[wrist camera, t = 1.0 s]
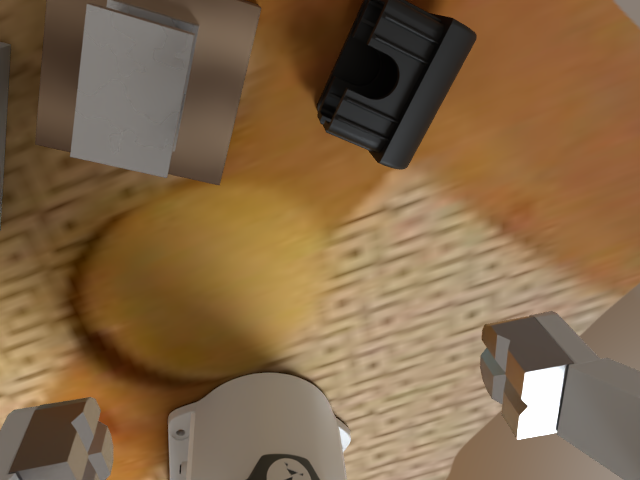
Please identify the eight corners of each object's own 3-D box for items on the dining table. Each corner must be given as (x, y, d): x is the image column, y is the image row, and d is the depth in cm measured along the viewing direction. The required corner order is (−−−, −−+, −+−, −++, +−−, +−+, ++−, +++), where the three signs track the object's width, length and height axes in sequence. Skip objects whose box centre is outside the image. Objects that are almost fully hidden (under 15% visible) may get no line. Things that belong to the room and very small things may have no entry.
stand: (220, 166, 41) (219, 185, 37) (53, 128, 38) (35, 144, 34) (258, 4, 36) (261, 8, 32) (70, -56, 33) (51, -59, 29)
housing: (175, 147, 35) (166, 177, 30) (94, 127, 34) (70, 156, 29) (199, 24, 32) (194, 35, 27) (110, -2, 31) (86, 3, 26)
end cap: (390, 150, 42) (416, 179, 36) (311, 116, 40) (325, 141, 34) (453, 29, 39) (493, 40, 33) (370, -16, 37) (398, -13, 31)
